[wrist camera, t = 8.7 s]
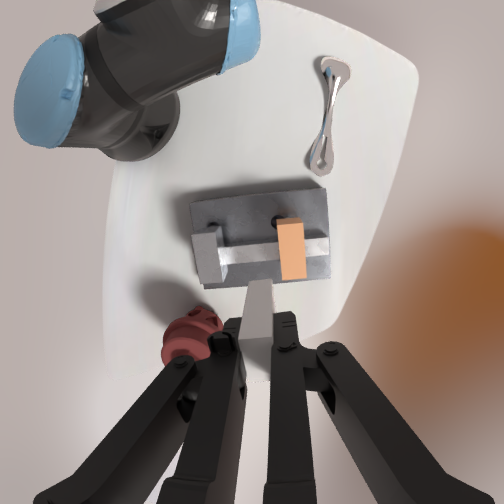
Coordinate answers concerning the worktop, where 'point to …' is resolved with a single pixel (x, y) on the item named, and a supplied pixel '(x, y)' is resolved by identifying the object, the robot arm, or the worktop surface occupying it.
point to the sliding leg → (292, 248)
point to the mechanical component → (190, 335)
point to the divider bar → (241, 252)
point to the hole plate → (265, 229)
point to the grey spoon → (329, 111)
